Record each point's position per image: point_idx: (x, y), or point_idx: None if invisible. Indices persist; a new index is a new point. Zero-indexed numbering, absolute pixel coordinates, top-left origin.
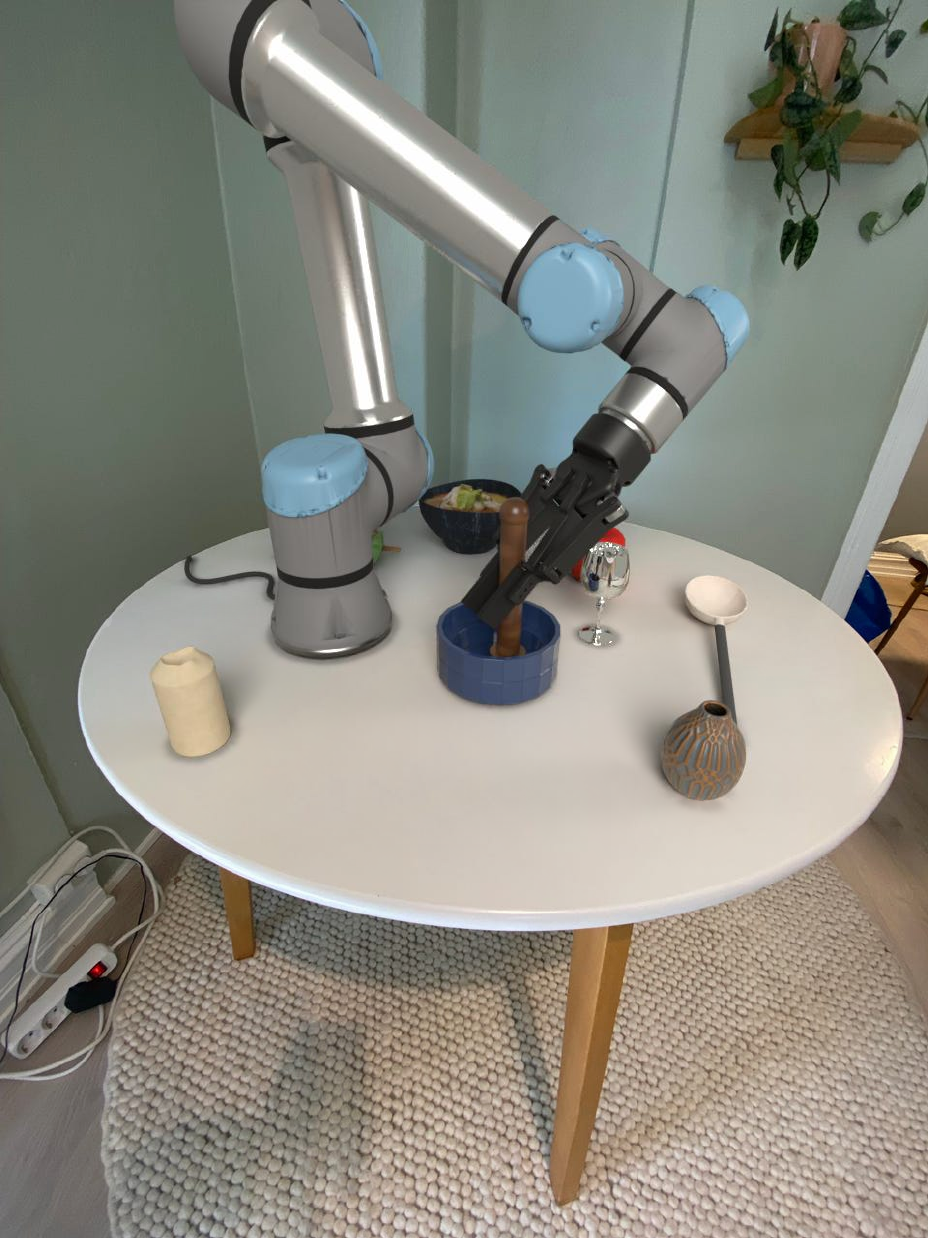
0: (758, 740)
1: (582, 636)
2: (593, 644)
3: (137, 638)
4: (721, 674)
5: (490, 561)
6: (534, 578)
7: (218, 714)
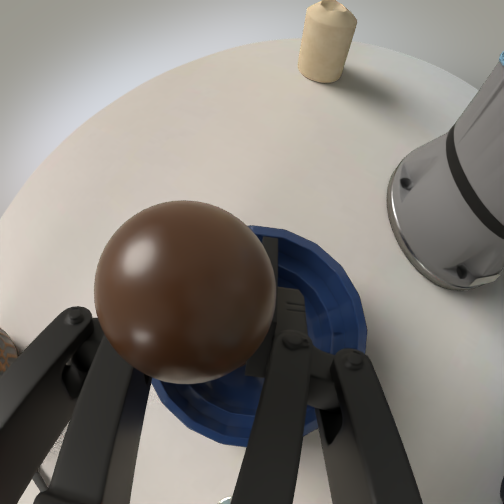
0: None
1: None
2: (224, 498)
3: (466, 94)
4: None
5: (302, 316)
6: None
7: (308, 53)
